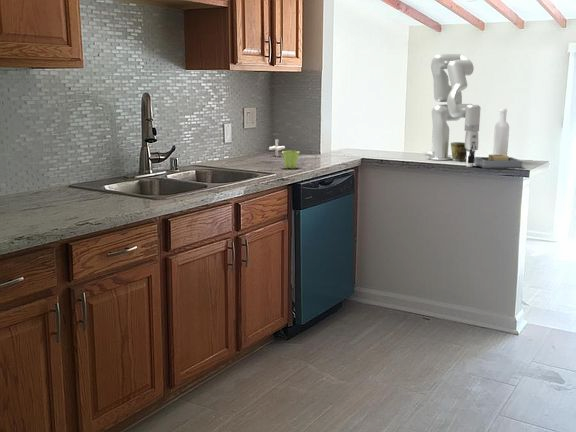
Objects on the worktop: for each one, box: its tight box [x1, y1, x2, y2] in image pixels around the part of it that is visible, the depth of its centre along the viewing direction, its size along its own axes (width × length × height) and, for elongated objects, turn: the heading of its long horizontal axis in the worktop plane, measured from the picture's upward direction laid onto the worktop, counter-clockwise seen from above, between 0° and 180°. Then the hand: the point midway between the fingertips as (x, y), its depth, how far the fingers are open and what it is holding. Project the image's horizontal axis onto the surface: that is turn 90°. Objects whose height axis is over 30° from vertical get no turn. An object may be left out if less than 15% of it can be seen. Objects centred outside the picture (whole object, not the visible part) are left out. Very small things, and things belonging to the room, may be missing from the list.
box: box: [474, 154, 523, 170], centre depth 335 cm, size 20×16×6 cm
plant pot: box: [281, 150, 300, 169], centre depth 331 cm, size 9×9×9 cm
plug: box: [465, 149, 474, 168], centre depth 336 cm, size 4×4×9 cm
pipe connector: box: [268, 139, 286, 157], centre depth 379 cm, size 10×10×10 cm
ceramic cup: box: [450, 141, 467, 162], centre depth 358 cm, size 13×10×10 cm
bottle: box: [492, 107, 510, 156], centre depth 350 cm, size 8×8×30 cm
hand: (469, 162), depth 336 cm, fingers closed on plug, 3 cm apart
